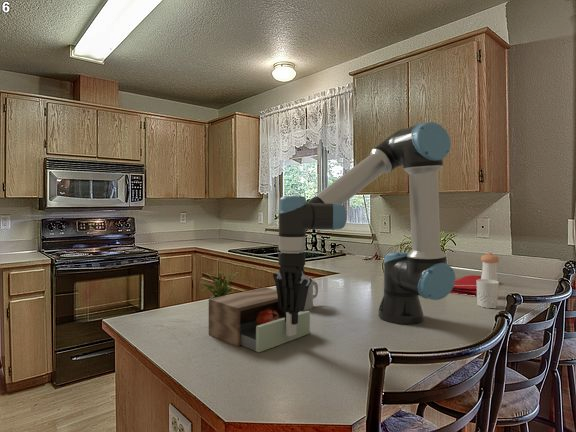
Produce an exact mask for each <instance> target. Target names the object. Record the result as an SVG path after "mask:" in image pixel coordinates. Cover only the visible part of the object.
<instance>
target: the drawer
mask: <svg viewBox="0 0 576 432" xmlns="http://www.w3.org/2000/svg"><path fill="white" fill-rule="evenodd" d="M279 318H280V319H278V320H275V321H271V322H268V323H265V324H262V325H258V326H257V325H256V320H253V321H250V322H246V323H243V324H240V346H243V347H245V348H247V349H250V350H252V351H254V352H257V353H260V352H264V351H266V350H269V349H272V348H274V347H275V348H276V347H277V346H279V345H283V344H286V343H288V342H292V341H294V340H297V339H298V338H301V337H304V336H307V335H309V334H310V333H311V311H309V310H303V311H300V312H298V324H296V335H293V336H287V335H286V322H285V316H282V315H279Z"/></svg>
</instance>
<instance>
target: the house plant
mask: <svg viewBox="0 0 576 432" xmlns="http://www.w3.org/2000/svg"><path fill="white" fill-rule="evenodd" d="M210 273H212V274H213V272H212V271H210ZM232 273H233V271H232V272H229V273H227V274H224V276H223V272H222V270H220V271H219V274H218V275H219V276H218V277H217V276H216V275H215V274H213V275H211V274H208V273H203V274H204V275H206V276H207V277H206V279H207V280H209V279H208V278H211V280H212V284H213V285H212V284H210V283H207V282H203V281H199V283H200V284H202V285H203V286H205V287H206V288H205V287H204V288H203V289H202V291H204V290H209V291H211V293H212V294H213V295H214V296H213V295H212V296H211V297H210V298H209V299H211V298H216V297H221V296H226V295H228V293H229V292H232V291H234V290H235V289H234V288H235V286H233V285H230V284H231V281H233V280H234V279H235V277H234V276H235V275H236V274H238V273H239V271H238V272H237V271H236V272H234V273H233V274H232ZM230 274H231V275H230ZM228 275H230V276H229V278H228V279H227V277H228ZM202 277H204V278H205V276H202Z"/></svg>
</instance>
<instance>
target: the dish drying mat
mask: <svg viewBox="0 0 576 432" xmlns="http://www.w3.org/2000/svg"><path fill="white" fill-rule="evenodd" d="M481 276H482V275H475V274H474V275H465V276H463V277H460V278H459V279H457V280H455V284H454V287H453V289H452V290H451V291H450V293H449V294H453V293H458V294H457V295H460V294H467V295H475V296H477V283H476V280H478V279H481ZM467 295H466V296H467Z"/></svg>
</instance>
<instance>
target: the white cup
mask: <svg viewBox="0 0 576 432" xmlns="http://www.w3.org/2000/svg"><path fill="white" fill-rule="evenodd" d="M476 283H477V297H476V302H477V306H478V305H479V306H481V307H480V308H482V307H486V308H485V309H489V308H494V309H496V308H497V306H498V300H499V294H498V290H499V289H500V281H499V280H498V281H495V280H488V279H478V280H476ZM499 291H500V290H499ZM479 306H478V307H479Z"/></svg>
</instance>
